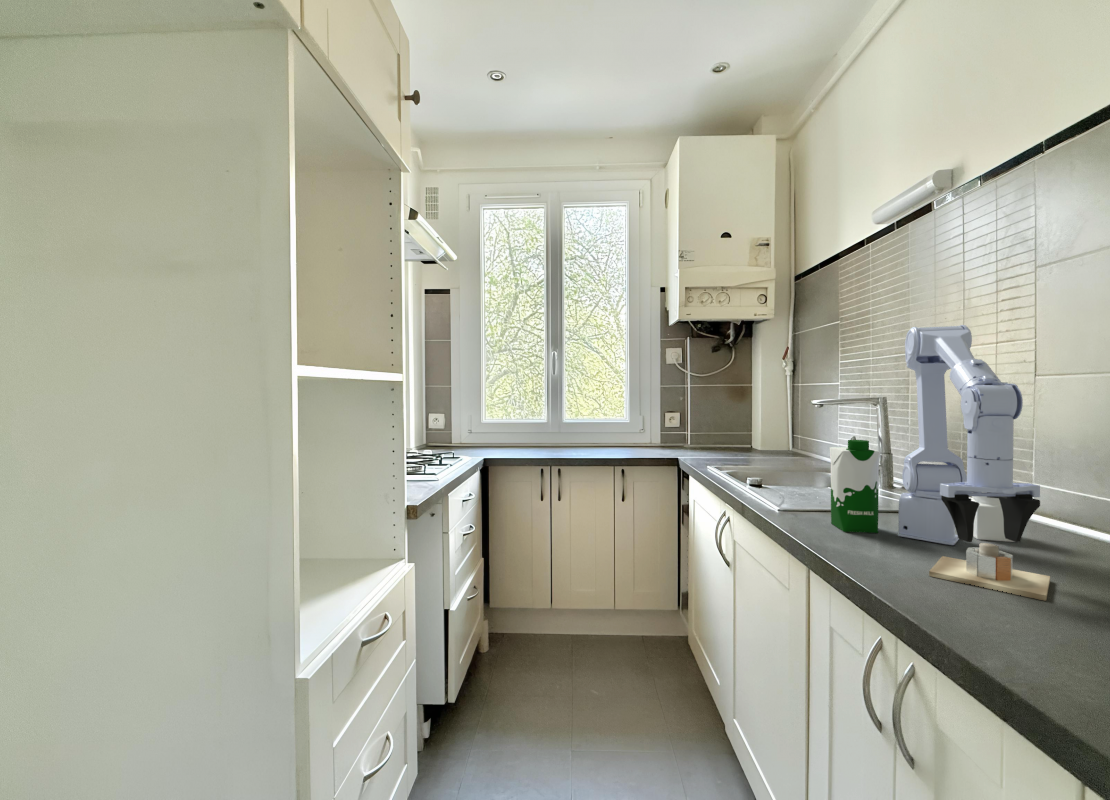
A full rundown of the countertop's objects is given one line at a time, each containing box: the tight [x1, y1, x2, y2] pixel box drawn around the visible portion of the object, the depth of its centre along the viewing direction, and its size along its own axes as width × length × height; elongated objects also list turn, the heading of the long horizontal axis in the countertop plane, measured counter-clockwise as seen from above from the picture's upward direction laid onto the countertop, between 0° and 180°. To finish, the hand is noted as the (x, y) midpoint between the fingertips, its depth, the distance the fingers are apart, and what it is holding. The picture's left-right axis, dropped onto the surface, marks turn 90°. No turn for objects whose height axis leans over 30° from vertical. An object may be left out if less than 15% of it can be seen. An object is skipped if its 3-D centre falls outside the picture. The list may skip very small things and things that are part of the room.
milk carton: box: [829, 439, 881, 534], centre depth 113 cm, size 9×9×20 cm
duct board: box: [928, 542, 1051, 602], centre depth 83 cm, size 14×11×6 cm
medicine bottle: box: [971, 492, 1016, 543], centre depth 106 cm, size 7×7×12 cm
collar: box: [965, 547, 1014, 580], centre depth 82 cm, size 6×6×4 cm
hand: (988, 540), depth 83 cm, fingers open, 7 cm apart
